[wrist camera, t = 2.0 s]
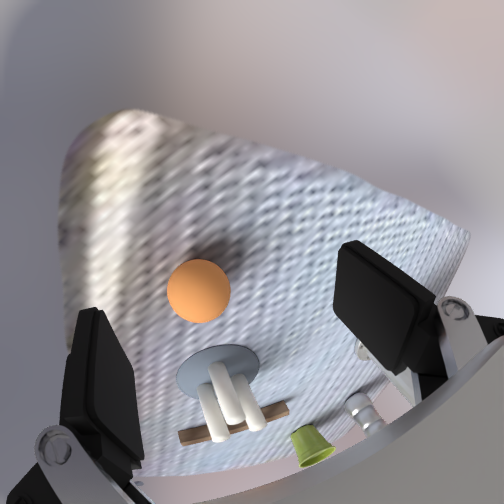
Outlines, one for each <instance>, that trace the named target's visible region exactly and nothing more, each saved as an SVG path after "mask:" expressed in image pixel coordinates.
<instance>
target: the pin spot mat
mask: <svg viewBox="0 0 504 504" xmlns="http://www.w3.org/2000/svg"><path fill="white" fill-rule="evenodd" d="M214 362H223V363H224V364H225V367H226V369H227V372H228V374H229V377H230V378H231V377H232V376H234V375H236V374H244V375H245V377H246V379H247V382H248V384H250V383H251V382H252V381H253V380H254V378H255V377H256V375H257V373H258V370H259V361H258V359H257V357H256V355H255V354H254V353H253V352H252V351H251V350H249V349H247V348H245V347H241V346H236V345H221V346H215V347H211V348H207V349H204V350H202V351H200V352H198V353H196V354H194V355H193V356H191V357H190V358H188V359H187V360H186V361H185V362H184V363H183V364H182V365H181V367H180V368H179V370H178V372H177V377H176V380H177V385H178V387H179V389H180V390H181V391H182V392H183V393H184V394H185V395H187V396H189V397H192V398H195V399H199V396H198V393H197V387H198V386H199V385H201V384H204V383H209V384H211V385H212V386H213V383H212V380H211V377H210V374H209V371H208V367H209V365H210V364H212V363H214ZM213 389H214V386H213ZM214 392H215V389H214ZM215 395H216V392H215ZM216 398H217V395H216ZM217 399H218V398H217Z"/></svg>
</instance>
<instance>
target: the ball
mask: <svg viewBox="0 0 504 504" xmlns="http://www.w3.org/2000/svg"><path fill="white" fill-rule="evenodd" d="M230 292H231V290H230V283H229V280H228V278H227V276H226V274H225V273H224V271H223V270H222V269H221V268H220V267H219V266H217V265H216V264H214V263H212V262H210V261H207V260H202V259H194V260H190V261H187V262H185V263H183V264H181V265H180V266H179V267H177V268H176V269H175V271H174V272H173V273H172V275H171V277H170V279H169V282H168V287H167V294H168V299H169V302H170V305H171V306H172V308H173V310H174V311H175V312H176V313H177V314H178V315H179V316H180V317H182V318H183V319H185V320H188V321H191V322H195V323H203V322H208V321H211V320H213V319H215V318H217V317H218V316H219V315H221V314H222V312H223V311H224V310H225V308H226V307H227V305H228V303H229V299H230Z"/></svg>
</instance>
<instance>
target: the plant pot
mask: <svg viewBox="0 0 504 504" xmlns="http://www.w3.org/2000/svg"><path fill="white" fill-rule="evenodd" d="M291 439H292V442H293V445H294V447H295V450H296V453H297V455H298V458H299V459H298V461H299V467H300V468H304V467H307V466H311V465H313V464H315V463H318V462H319V461H321V460H323V459H325V458H326V457H328V456H329V455H331V454H332V453H333V452H334V451H335V449H336V447H335V446H332V445H331V444H330V443H328V442H327V441H326V440H325V438H324V437H323V436H322V435H321V434H320V433H319V432H318V430H317V429H316V428H315V427H314V426H313V425H306V426H303V427H301V428H299V429H297V431H296V432H295V433H292V434H291Z"/></svg>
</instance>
